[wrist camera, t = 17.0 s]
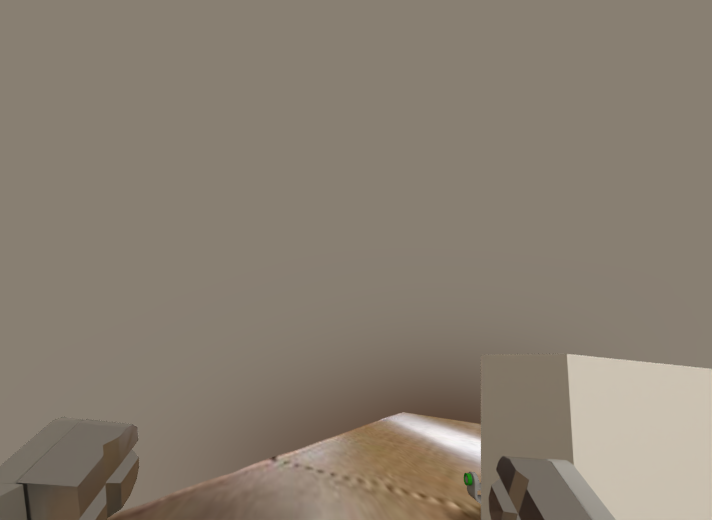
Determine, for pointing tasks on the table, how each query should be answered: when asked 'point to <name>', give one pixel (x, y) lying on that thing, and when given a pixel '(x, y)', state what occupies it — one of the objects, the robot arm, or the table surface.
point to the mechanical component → (473, 485)
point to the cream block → (604, 428)
